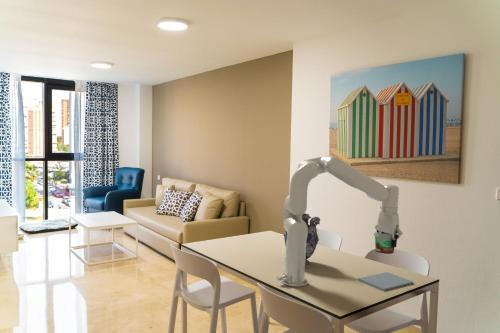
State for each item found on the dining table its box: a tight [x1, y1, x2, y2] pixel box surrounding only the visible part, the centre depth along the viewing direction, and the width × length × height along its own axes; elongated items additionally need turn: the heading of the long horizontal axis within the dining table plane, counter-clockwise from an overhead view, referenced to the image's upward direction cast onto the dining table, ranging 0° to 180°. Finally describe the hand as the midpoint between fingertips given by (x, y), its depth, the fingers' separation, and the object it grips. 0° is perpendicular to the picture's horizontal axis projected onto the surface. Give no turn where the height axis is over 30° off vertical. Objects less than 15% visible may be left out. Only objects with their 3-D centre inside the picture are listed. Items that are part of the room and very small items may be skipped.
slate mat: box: [357, 271, 414, 292], centre depth 201 cm, size 22×16×1 cm
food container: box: [373, 231, 395, 255], centre depth 200 cm, size 12×6×10 cm, turn 106°
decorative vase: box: [283, 212, 321, 266], centre depth 228 cm, size 21×19×28 cm
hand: (387, 245), depth 200 cm, fingers closed on food container, 6 cm apart
